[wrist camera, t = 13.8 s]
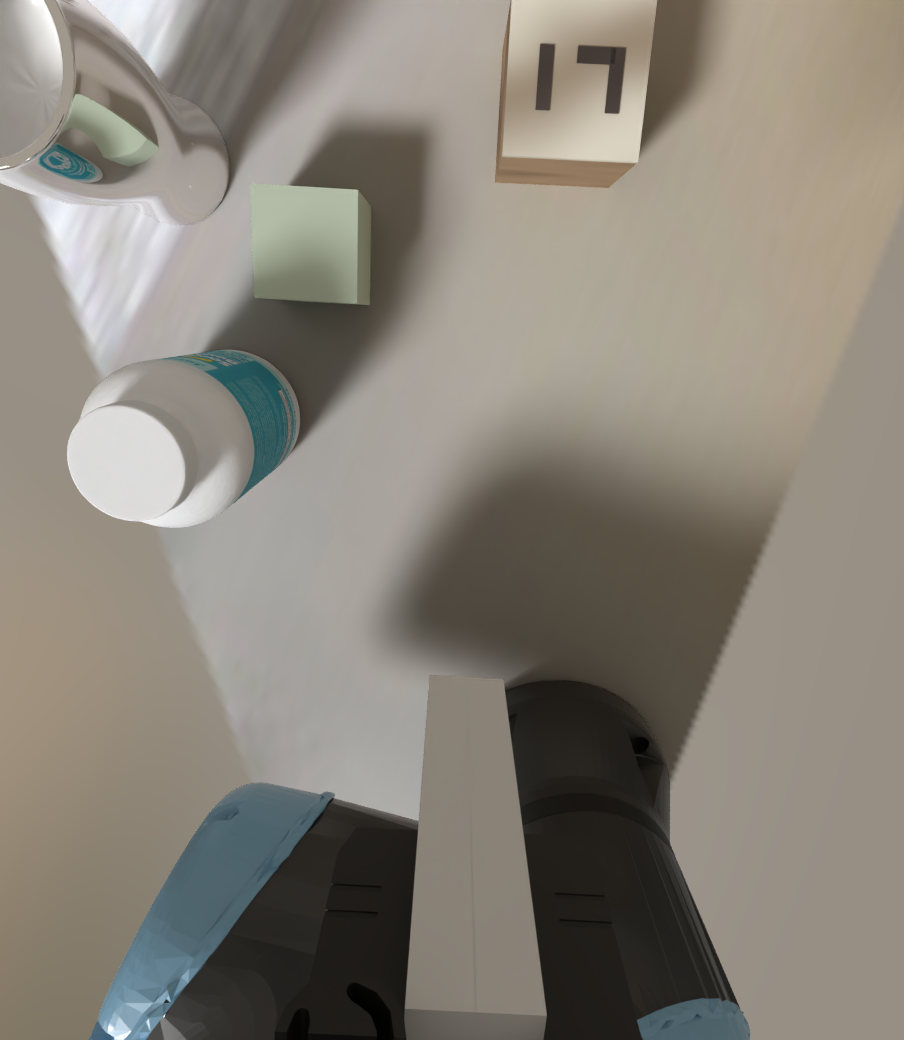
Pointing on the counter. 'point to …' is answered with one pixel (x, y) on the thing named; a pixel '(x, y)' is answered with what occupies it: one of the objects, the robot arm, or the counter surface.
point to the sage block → (310, 244)
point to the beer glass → (99, 118)
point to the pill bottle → (182, 436)
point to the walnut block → (573, 90)
